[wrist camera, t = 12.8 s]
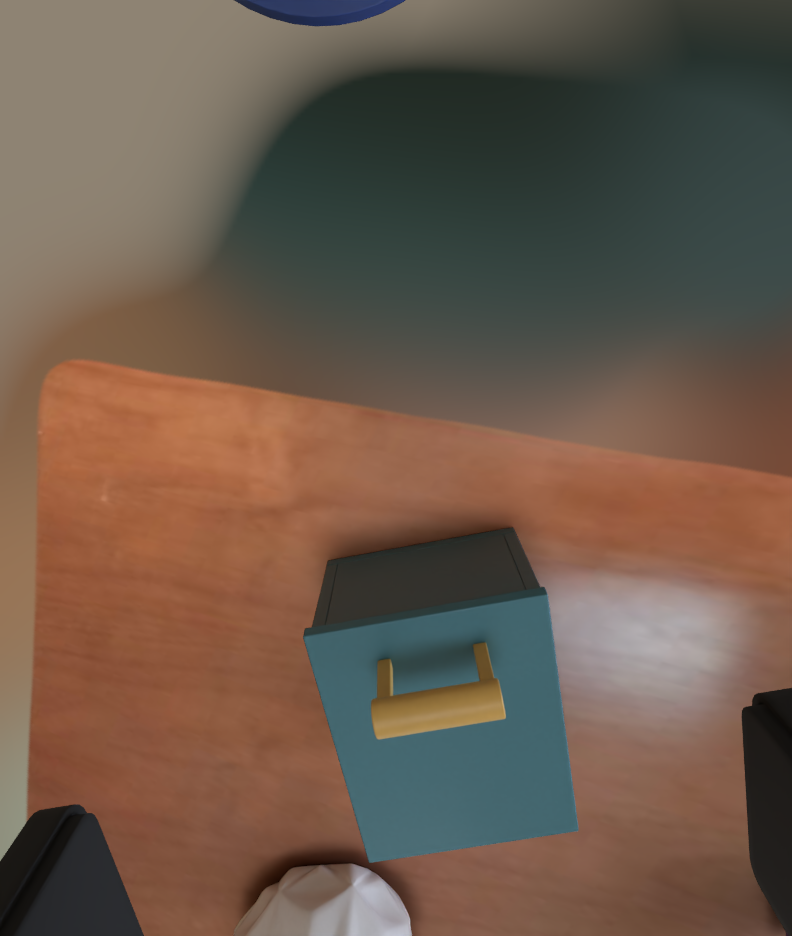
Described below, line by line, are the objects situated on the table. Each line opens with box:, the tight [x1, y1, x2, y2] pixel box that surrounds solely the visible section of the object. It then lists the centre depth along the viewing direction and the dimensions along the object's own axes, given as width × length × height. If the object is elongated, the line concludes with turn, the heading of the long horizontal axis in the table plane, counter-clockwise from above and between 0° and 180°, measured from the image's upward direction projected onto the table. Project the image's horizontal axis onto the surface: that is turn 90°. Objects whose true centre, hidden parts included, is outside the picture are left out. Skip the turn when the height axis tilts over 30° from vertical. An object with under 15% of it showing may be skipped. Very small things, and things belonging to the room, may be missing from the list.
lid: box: [303, 587, 578, 863], centre depth 34 cm, size 16×13×6 cm
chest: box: [312, 527, 540, 627], centre depth 42 cm, size 16×13×9 cm
